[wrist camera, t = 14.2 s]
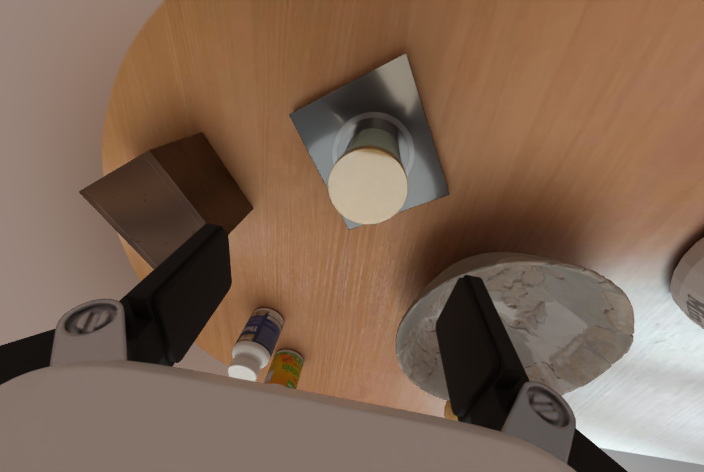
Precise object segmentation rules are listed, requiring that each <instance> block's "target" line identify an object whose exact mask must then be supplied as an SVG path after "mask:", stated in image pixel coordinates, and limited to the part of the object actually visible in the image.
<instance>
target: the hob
mask: <svg viewBox="0 0 704 472" xmlns="http://www.w3.org/2000/svg"><path fill="white" fill-rule="evenodd" d="M289 116H290V118H291V119H292V121H293V123H294V125H295V127H296V129H297V131H298V133H299V135H300V137H301V139H302V141H303V143H304V144H305V146H306V148H307V150H308V152H309V154H310V156H311V158H312V160H313V162H314V164H315V166H316V168H317V169H318V171H319V173H320V175H321V177H322V179H323V181H324V183H325V185H326V187H327V189H328V178H329V175H330V172H331V170H332V168H333V166H334V164H335V163H336V161H337V160H338V159H339V158H340V157H341V156H342V155H343V153H344V151H345V149H346V147H347V145H348V143H349V142H350V140H351V139H352V137H353V136H354V135H356V134H357V133H358V132H360V131H362V130H365V129H370V128H377V129H381V130H384V131H386V132H388V133H389V134H390V135H391V136H393V138H394V139H395V140H396V142H397V144H398V146H399V149H400V155H401V161H402V165H403V167H404V169H405V171H406V175H407V180H408V194H407V197H406V200H405V203H404V205H403V206H402V208H401V209H400V210H399V212H401V211H404V210H407V209H410V208H413V207H415V206H418V205H421V204H424V203H427V202H430V201H433V200H435V199H438V198H441V197H444V196H447V195H449V191H448V188H447V184H446V181H445V178H444V175H443V171H442V168H441V165H440V162H439V158H438V155H437V152H436V148H435V145H434V142H433V139H432V135H431V132H430V129H429V126H428V122H427V119H426V116H425V113H424V109H423V106H422V103H421V99H420V96H419V93H418V90H417V86H416V83H415V80H414V77H413V73H412V70H411V67H410V64H409V60H408V57H407V54H406V53H404V54H403V55H401V56H399V57H397V58H395V59H393V60H391V61H389V62H387V63H386V64H384V65H382V66H380V67H378V68H376V69H374V70H372V71H370V72H369V73H367V74H365V75H363V76H361V77H359V78H357V79H355V80H353V81H352V82H350V83H348V84H346V85H344V86H342V87H340V88H338V89H336V90H335V91H333V92H331V93H329V94H327V95H325V96H323V97H321V98H319V99H317V100H316V101H314V102H312V103H310V104H308V105H306V106H304V107H302V108H300V109H299V110H297V111H295V112H293V113H291V114H289ZM397 213H398V212H397ZM341 216H342V215H341ZM342 217H343V219H344V221H345V223H346V225H347V227H348V229H349V230H350V229H353V228H356V227H359V226H361V225H364V224H359V223H355V222H353V221H350V220H348V219H347V218H345V217H344V216H342Z"/></svg>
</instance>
